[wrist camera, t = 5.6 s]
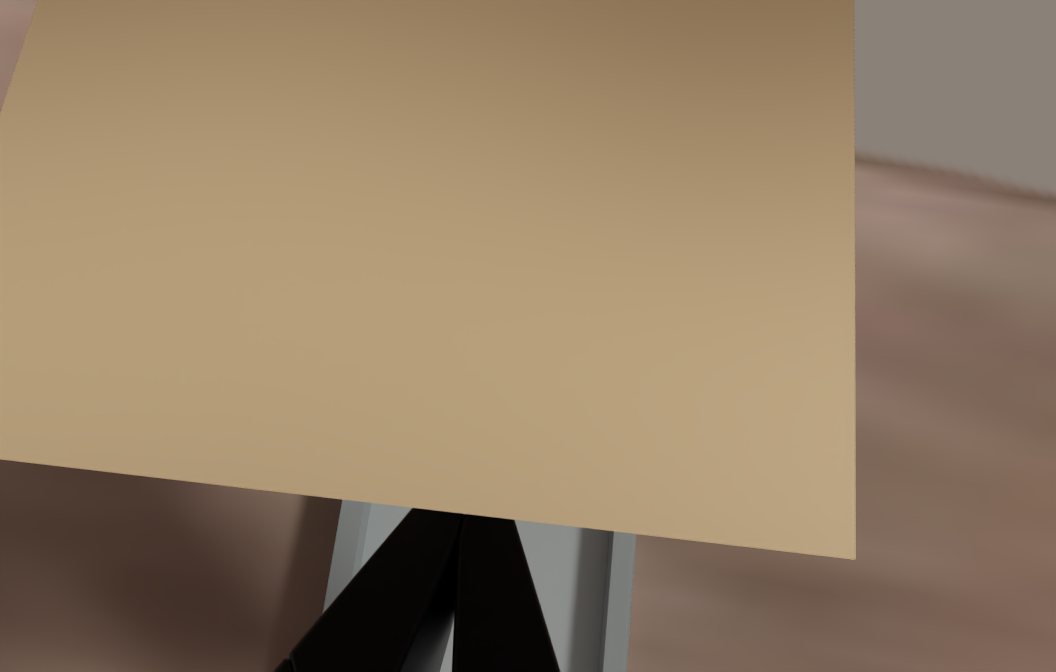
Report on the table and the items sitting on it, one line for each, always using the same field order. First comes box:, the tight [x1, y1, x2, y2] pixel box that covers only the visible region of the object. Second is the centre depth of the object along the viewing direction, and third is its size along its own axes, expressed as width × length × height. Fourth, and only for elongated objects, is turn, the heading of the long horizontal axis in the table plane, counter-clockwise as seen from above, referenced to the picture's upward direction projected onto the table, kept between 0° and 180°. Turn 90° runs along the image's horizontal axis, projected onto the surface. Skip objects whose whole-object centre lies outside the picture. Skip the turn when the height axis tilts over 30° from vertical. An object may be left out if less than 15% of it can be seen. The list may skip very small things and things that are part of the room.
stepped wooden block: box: [0, 0, 856, 560], centre depth 10 cm, size 7×6×14 cm
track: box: [323, 500, 636, 672], centre depth 16 cm, size 22×8×1 cm, turn 173°
